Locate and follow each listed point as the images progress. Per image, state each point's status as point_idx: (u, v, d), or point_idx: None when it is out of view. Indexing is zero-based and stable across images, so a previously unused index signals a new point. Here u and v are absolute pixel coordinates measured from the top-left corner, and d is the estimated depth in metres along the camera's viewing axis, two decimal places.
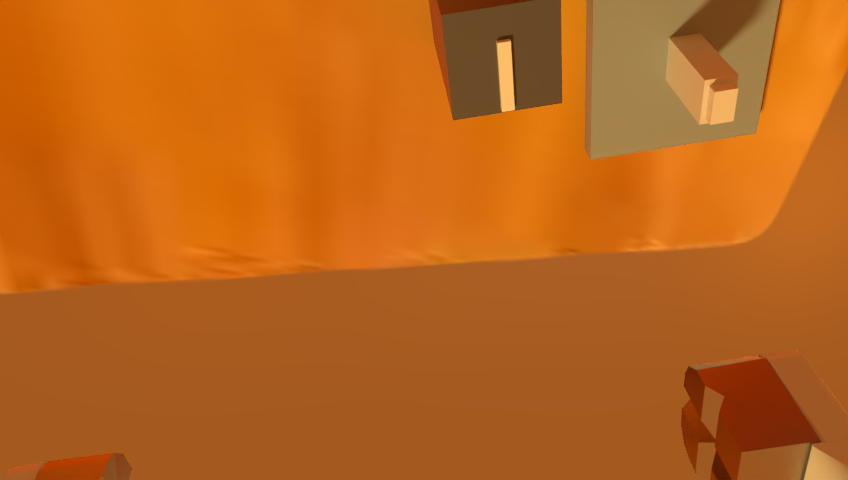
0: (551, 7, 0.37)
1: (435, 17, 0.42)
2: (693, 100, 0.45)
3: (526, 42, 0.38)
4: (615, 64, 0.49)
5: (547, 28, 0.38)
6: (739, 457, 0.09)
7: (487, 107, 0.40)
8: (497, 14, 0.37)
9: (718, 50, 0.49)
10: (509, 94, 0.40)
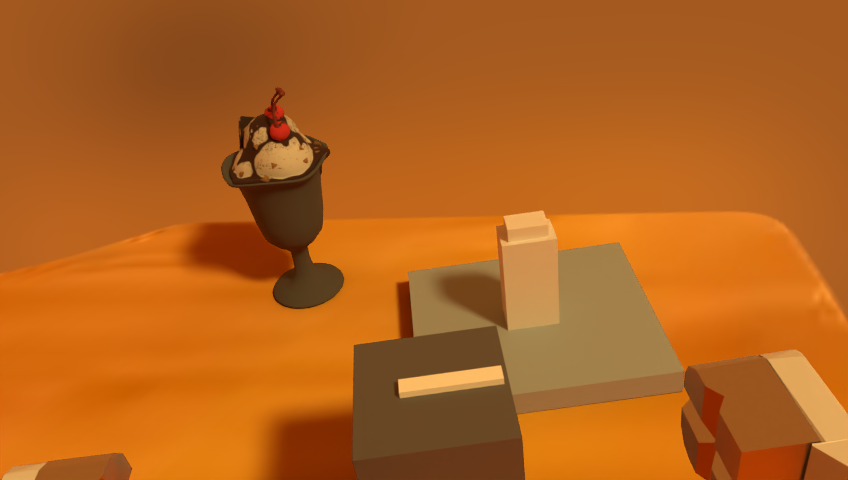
0: (366, 351, 0.31)
1: None
2: (539, 259, 0.40)
3: (407, 368, 0.29)
4: (541, 369, 0.40)
5: (392, 351, 0.30)
6: (739, 457, 0.09)
7: (501, 398, 0.28)
8: (364, 400, 0.28)
9: None
10: (476, 373, 0.28)
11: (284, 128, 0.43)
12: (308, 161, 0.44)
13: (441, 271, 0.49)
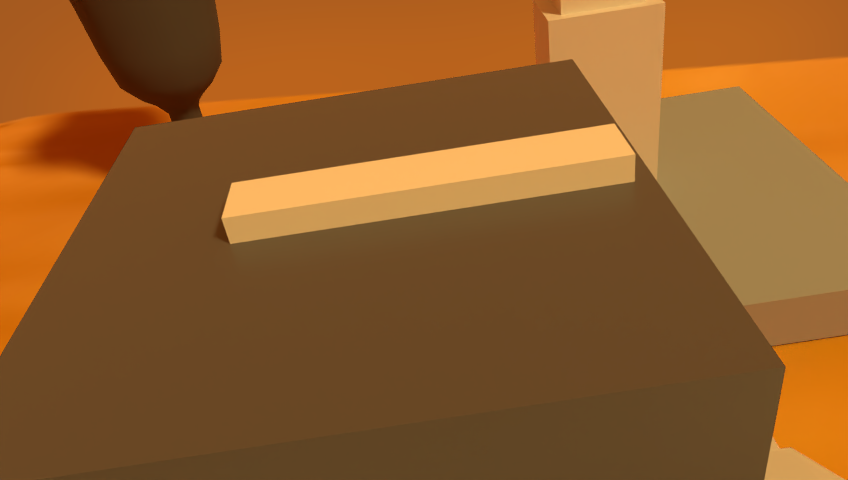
0: (164, 136, 0.10)
1: None
2: (624, 53, 0.20)
3: (280, 165, 0.09)
4: None
5: (245, 130, 0.10)
6: None
7: (634, 225, 0.07)
8: (97, 256, 0.07)
9: None
10: (523, 148, 0.07)
11: None
12: None
13: None
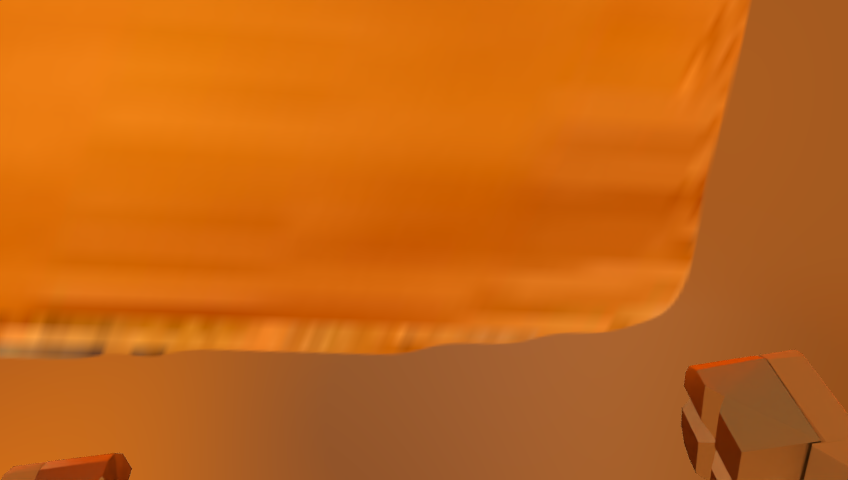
0: None
1: None
2: None
3: None
4: None
5: None
6: (739, 457, 0.09)
7: None
8: None
9: None
10: None
11: None
12: None
13: None
